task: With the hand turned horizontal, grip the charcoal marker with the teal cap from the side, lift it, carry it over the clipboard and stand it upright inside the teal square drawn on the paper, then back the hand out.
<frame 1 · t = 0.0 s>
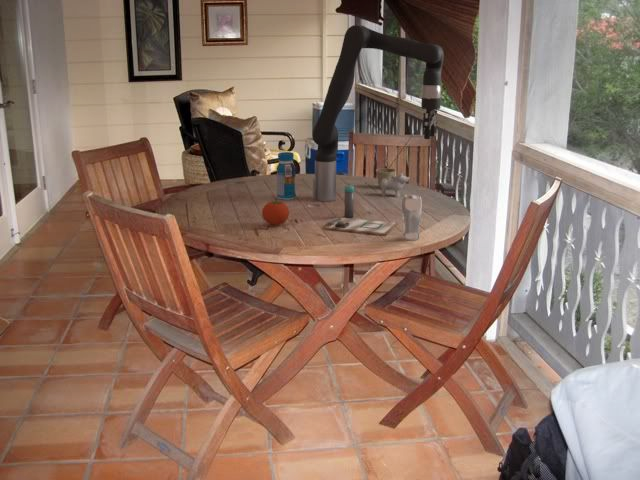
hand: (429, 137, 273), 29 cm above the table, tool pointing down, fingers open, 8 cm apart
flower pot: (385, 188, 319), on the table
beverage bottle: (286, 198, 300), on the table
marker: (349, 217, 267), on the table
tomato: (275, 225, 256), on the table
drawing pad: (361, 226, 253), on the table
beer glass: (410, 238, 239), on the table
dog figurine: (393, 196, 304), on the table
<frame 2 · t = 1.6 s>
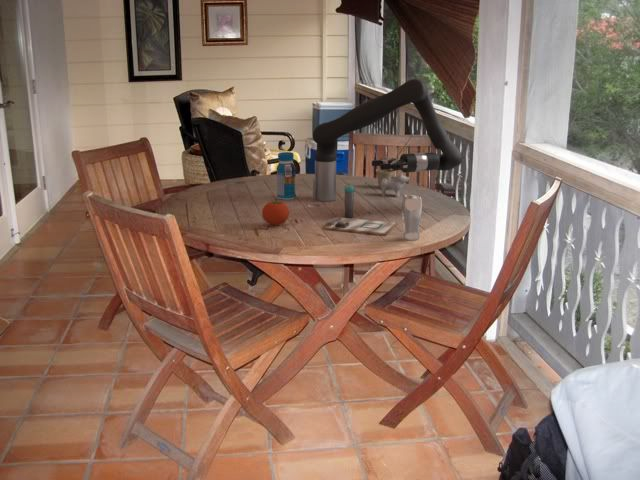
hand: (376, 165, 265), 20 cm above the table, tool horizontal, fingers open, 8 cm apart
nothing on the table moved.
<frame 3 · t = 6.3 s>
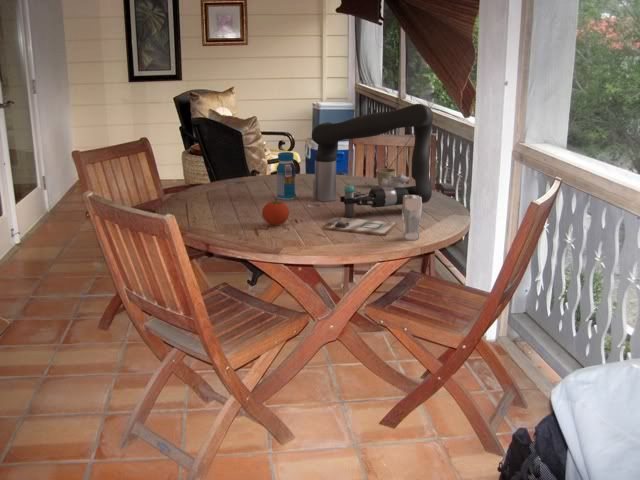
hand: (342, 200, 264), 7 cm above the table, tool horizontal, fingers closed on marker, 3 cm apart
marker: (349, 217, 267), on the table, touching gripper
everything else where it was.
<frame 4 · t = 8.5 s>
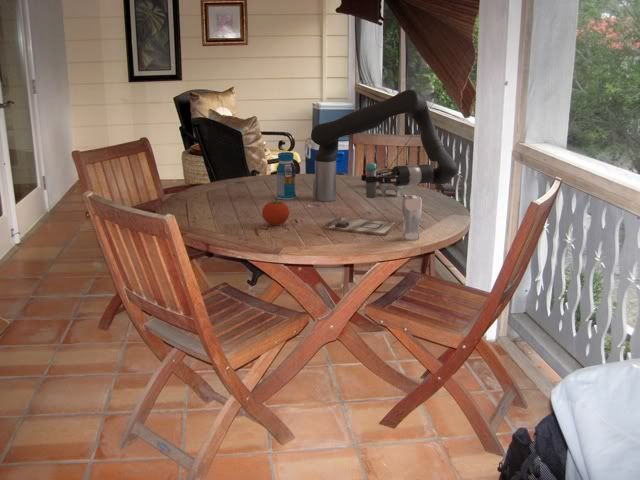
hand: (364, 179, 247), 18 cm above the table, tool horizontal, fingers closed on marker, 3 cm apart
marker: (371, 197, 250), point 11 cm above the table, touching gripper
everything else where it was.
when the fingers open (9 cm above the table, at t = 11.1 s): marker drops 1 cm, resting on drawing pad.
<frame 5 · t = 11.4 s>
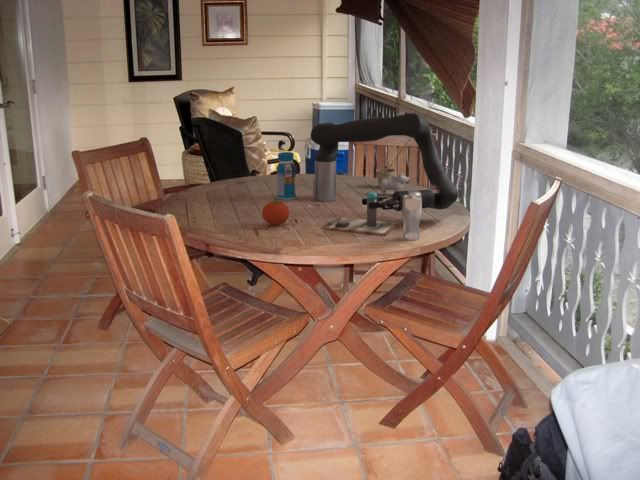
hand: (365, 203, 248), 9 cm above the table, tool horizontal, fingers open, 6 cm apart
marker: (371, 225, 252), point 1 cm above the table, touching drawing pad
everything else where it was.
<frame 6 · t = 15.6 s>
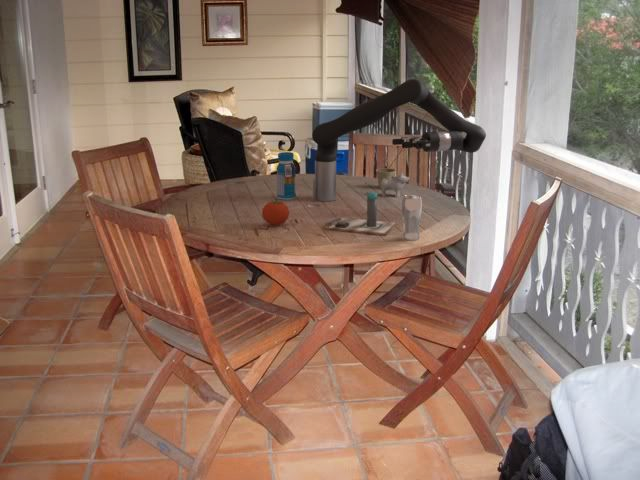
hand: (397, 143, 253), 30 cm above the table, tool horizontal, fingers open, 8 cm apart
nothing on the table moved.
at the end: marker 0.1 cm from the target spot on the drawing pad, point 0.8 cm above the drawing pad's base; marker tilted 0°; the gripper is holding nothing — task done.
